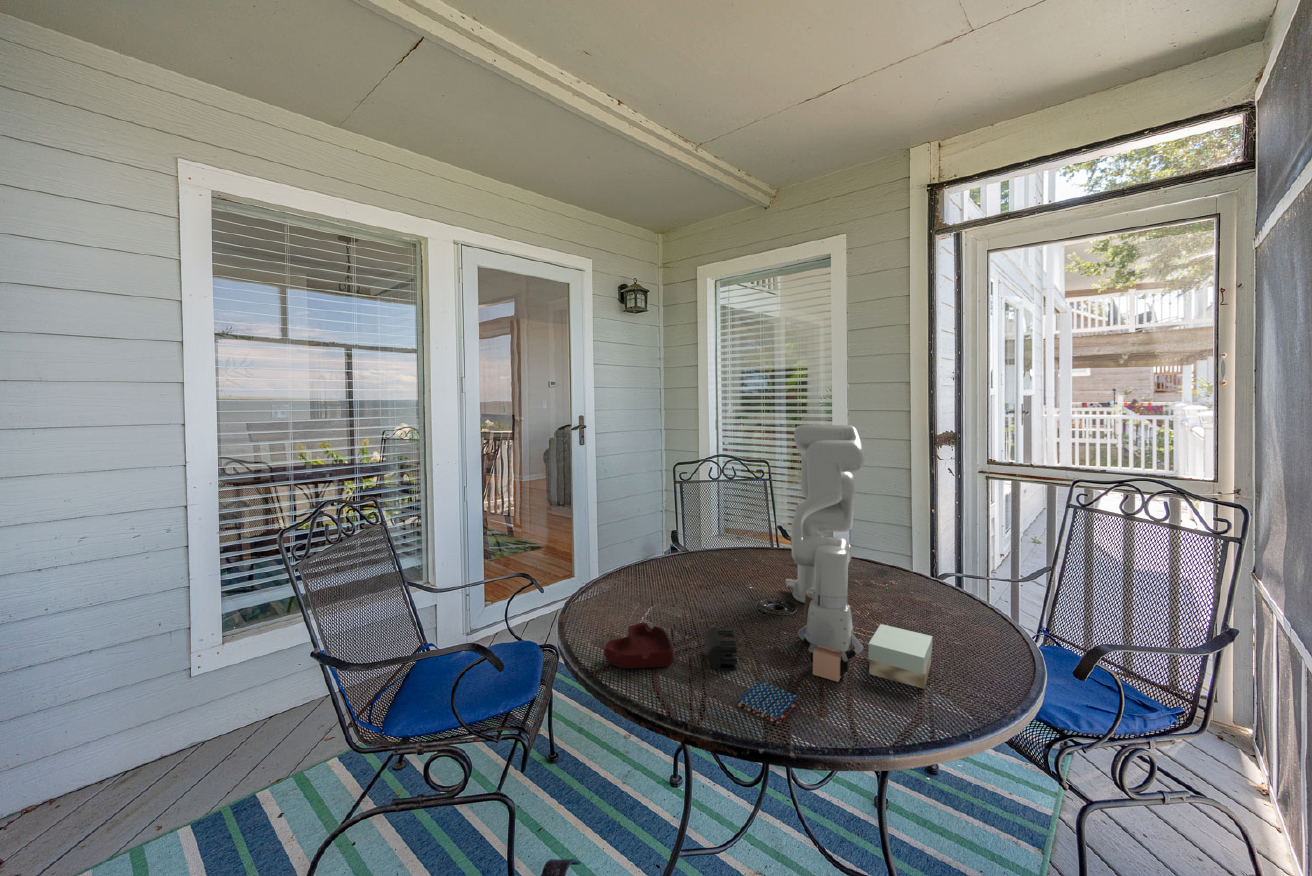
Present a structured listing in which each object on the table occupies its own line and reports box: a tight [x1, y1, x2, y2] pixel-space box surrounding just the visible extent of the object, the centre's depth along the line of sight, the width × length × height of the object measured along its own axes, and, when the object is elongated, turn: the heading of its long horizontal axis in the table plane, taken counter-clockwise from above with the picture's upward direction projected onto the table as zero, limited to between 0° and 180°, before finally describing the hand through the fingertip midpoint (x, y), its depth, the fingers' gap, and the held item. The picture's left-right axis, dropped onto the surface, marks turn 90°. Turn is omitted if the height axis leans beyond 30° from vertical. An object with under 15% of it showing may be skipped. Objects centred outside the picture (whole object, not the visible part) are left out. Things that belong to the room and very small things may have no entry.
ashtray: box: [603, 622, 674, 669], centre depth 138 cm, size 18×16×5 cm
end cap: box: [704, 626, 738, 671], centre depth 136 cm, size 10×7×7 cm
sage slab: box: [867, 623, 934, 674], centre depth 130 cm, size 12×12×4 cm
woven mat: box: [736, 681, 801, 724], centre depth 118 cm, size 10×11×2 cm
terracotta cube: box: [812, 645, 842, 683], centre depth 129 cm, size 6×6×6 cm
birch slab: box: [868, 655, 932, 690], centre depth 130 cm, size 12×12×4 cm
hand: (829, 669), depth 129 cm, fingers closed on terracotta cube, 6 cm apart
